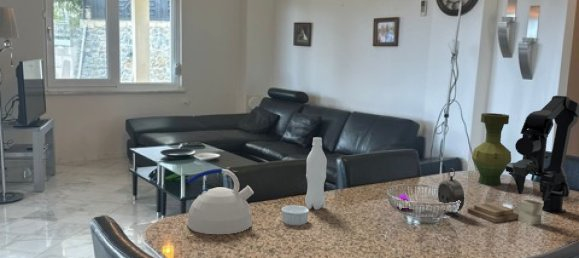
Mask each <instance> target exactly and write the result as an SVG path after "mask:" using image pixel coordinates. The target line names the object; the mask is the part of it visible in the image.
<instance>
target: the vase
mask: <svg viewBox="0 0 579 258" xmlns="http://www.w3.org/2000/svg"><path fill="white" fill-rule="evenodd" d="M480 115H481V116H480V123H483V124H484V126H485V141H484V142H482V143H481V144H479V145H477V146H476V147H475V148H474V149H473V150H472V151H473V152H472V155H471V159H472V161H473V163H474V165H475V167H476V170H477V171H478V173H479V178H478V181H477V183H478V184H481V185H485V186H492V187H493V186H494V187H495V186H496V187H498V186H501V184H502V183H501V176H502V175H503V173H504V172H505V171H506V166H507V164H508V163H512V151H510V150H509V149H508V148H507V147H506V146H505V145H504V144H503V143H501V140H502V132H503V128H504V126H505V125H509V121H510V115H509V114H505V113H504V114H503V113H495V112H493V113H492V112H491V113H489V112H483V113H481V114H480Z"/></svg>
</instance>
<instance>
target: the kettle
mask: <svg viewBox="0 0 579 258" xmlns="http://www.w3.org/2000/svg"><path fill="white" fill-rule="evenodd" d="M213 174H226V175H228V176H229V177H230V178H231V179H232V182H233V189H231V188H228V187H224V186H223V187H222V186H220V187H217V186H216V187H213V188H210V189H207V188H205V189H202V190H200V192H199V195H198V196H197V197H196V198H195V199H194V201H193V202H192V203H191V205H190V208H189V210H188V219H187V223H186V224H187V227H188V228H189V229H190V230H192V231H194V232H195V233H200V234H203V233H204V234H203V235H209V234H217V235H216V236H219V235H218V234H227V235H232V234H231V233H235V234H238V233H237V232H239V233H241V231H242V232H244V230H245V231H247V230H249V229H250V228H251V227H252V225H253V223H252V222H253V221H252V213H251V212H252V211H251V208H250V206H249V203H248V201H247V200H248V199H249V198H250V197H251V196H252V195H254V193H255V192H254V190H253V189H252V188H251V187H250V186H249V185H246V187H244V188H242V190H240V182H239V178H238V177H237V176H236V174H235V173H234V172H233V171H231V170H230V169H224V168H214V169H208V170H205V171H202V172H199V173H197V174H194V175H193V176H192V177H189V179H188V180H187V181H186V182H187V183H188V184H193V183H194V182H195V181H197V180H198V179H201V178H202V177H205V176H208V175H213ZM239 190H240V191H239ZM249 227H250V228H249ZM246 229H247V230H246Z"/></svg>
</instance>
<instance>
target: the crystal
mask: <svg viewBox="0 0 579 258" xmlns="http://www.w3.org/2000/svg"><path fill="white" fill-rule="evenodd" d="M397 197H399V198H401V199H403V200H407V201H410V199H409V197H408V196H407V194H406V193H403V194H401V195H398V196H397Z"/></svg>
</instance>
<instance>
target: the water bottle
mask: <svg viewBox="0 0 579 258" xmlns="http://www.w3.org/2000/svg"><path fill="white" fill-rule="evenodd" d="M322 141H323V139H322V137H319V136H316V137H313V138H312V143H311V145H312V147H311V151H309V153H308V155H307V157H306V170H305V171H306V174H305V177H306V178H305V179H306V183H307V191H306V195H305V197H304V202H305V207H306V208H308V209H309V210H311V209H312V208H314V211H315V210H316V211H318V210H320V209H323V208H324V206H325V204H326V196H325V189H324V187H325V181H326V179H327V164H328V160H327V157H326V154H325V152H324V149H323V142H322Z"/></svg>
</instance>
